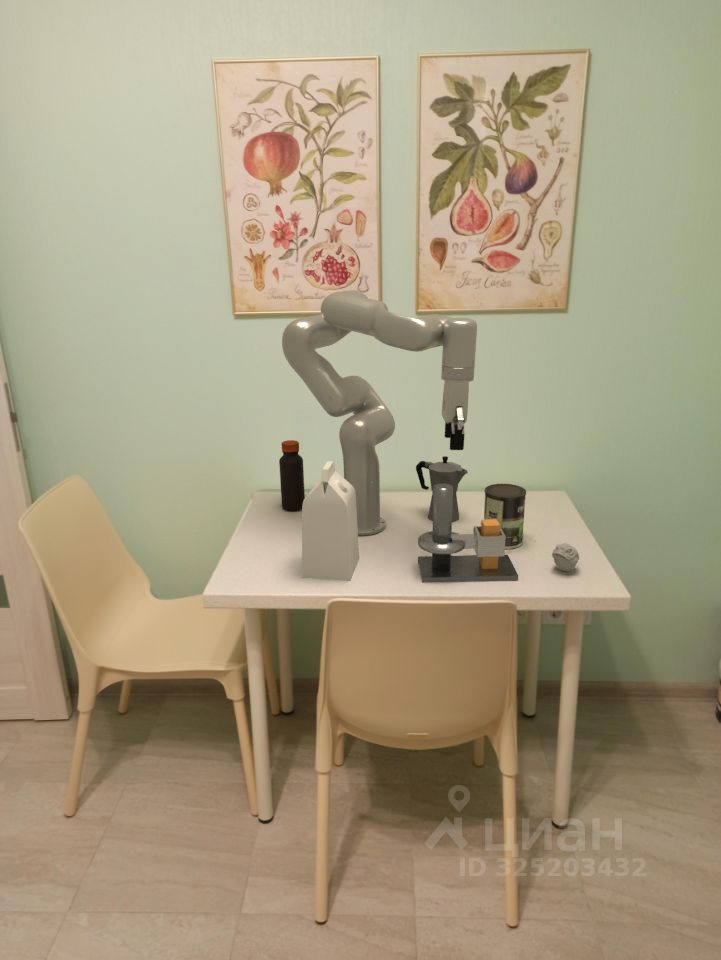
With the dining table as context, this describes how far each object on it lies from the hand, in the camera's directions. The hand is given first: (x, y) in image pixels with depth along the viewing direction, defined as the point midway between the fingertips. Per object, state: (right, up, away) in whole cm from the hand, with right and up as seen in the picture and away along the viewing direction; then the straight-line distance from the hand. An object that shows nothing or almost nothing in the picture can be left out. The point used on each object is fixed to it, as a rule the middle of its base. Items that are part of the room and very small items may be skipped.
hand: (453, 443), depth 164 cm
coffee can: (+14, -25, +13) cm, 31 cm away
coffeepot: (0, -19, +29) cm, 35 cm away
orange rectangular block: (+8, -29, -3) cm, 30 cm away
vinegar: (-42, -17, +37) cm, 58 cm away
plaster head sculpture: (+26, -30, -3) cm, 40 cm away
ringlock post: (+3, -30, -2) cm, 30 cm away
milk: (-29, -30, 0) cm, 42 cm away
